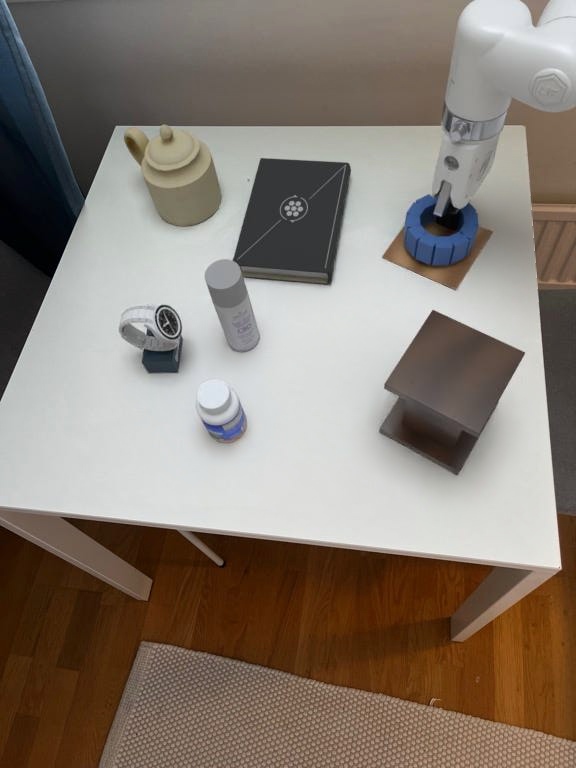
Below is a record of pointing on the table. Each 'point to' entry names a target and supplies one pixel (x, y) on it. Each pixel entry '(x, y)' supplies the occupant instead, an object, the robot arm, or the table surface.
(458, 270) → the mat
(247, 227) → the book
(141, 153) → the sugar bowl
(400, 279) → the table surface
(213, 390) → the pill bottle
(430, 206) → the ring
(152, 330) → the watch
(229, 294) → the container
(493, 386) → the platform
